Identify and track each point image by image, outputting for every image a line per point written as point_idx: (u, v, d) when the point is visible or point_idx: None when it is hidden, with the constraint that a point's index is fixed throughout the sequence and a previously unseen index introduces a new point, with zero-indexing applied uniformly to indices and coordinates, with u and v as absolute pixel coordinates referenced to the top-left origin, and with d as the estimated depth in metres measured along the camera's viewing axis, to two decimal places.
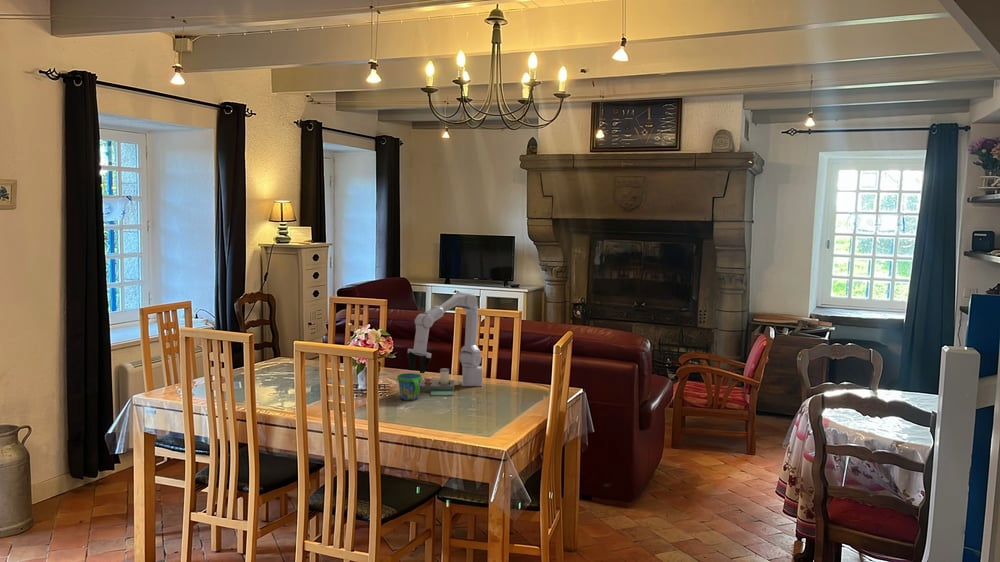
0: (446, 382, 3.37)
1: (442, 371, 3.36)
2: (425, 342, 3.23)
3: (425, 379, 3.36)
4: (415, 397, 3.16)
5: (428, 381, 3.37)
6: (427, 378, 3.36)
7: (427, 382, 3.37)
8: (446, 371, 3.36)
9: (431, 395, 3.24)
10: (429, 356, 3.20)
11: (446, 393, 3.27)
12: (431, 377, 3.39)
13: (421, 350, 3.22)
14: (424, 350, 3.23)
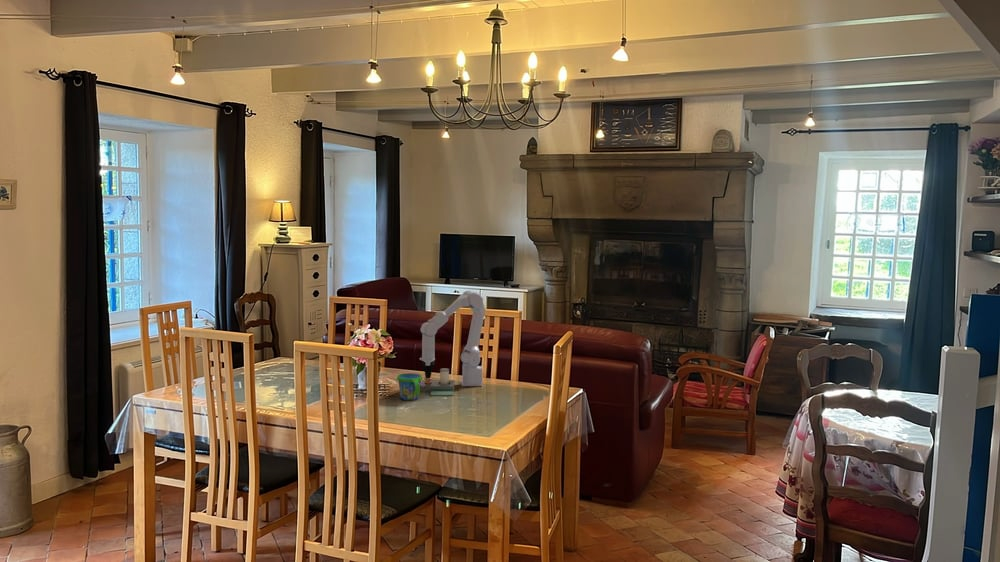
0: (446, 382, 3.37)
1: (442, 371, 3.36)
2: (428, 350, 3.34)
3: (425, 379, 3.36)
4: (415, 397, 3.16)
5: (428, 381, 3.37)
6: (427, 378, 3.36)
7: (427, 382, 3.37)
8: (446, 371, 3.36)
9: (431, 395, 3.24)
10: (427, 364, 3.30)
11: (446, 393, 3.27)
12: (431, 377, 3.39)
13: (425, 358, 3.34)
14: (429, 358, 3.34)
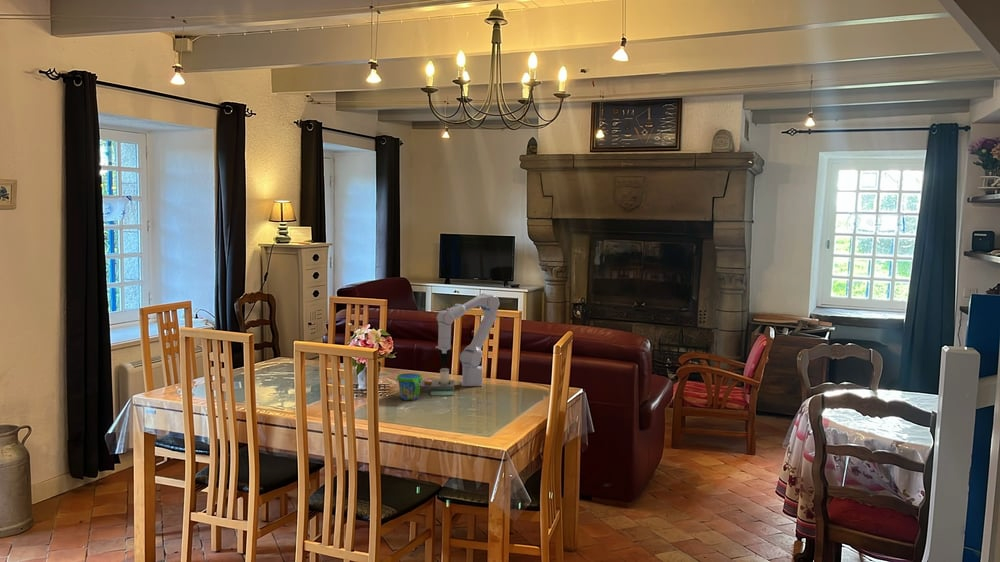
0: (446, 382, 3.37)
1: (442, 371, 3.36)
2: (445, 338, 3.34)
3: (425, 382, 3.37)
4: (415, 397, 3.16)
5: None
6: (427, 381, 3.37)
7: None
8: (446, 371, 3.36)
9: (431, 395, 3.24)
10: (444, 352, 3.30)
11: (446, 393, 3.27)
12: (431, 380, 3.39)
13: (441, 346, 3.34)
14: (445, 346, 3.34)
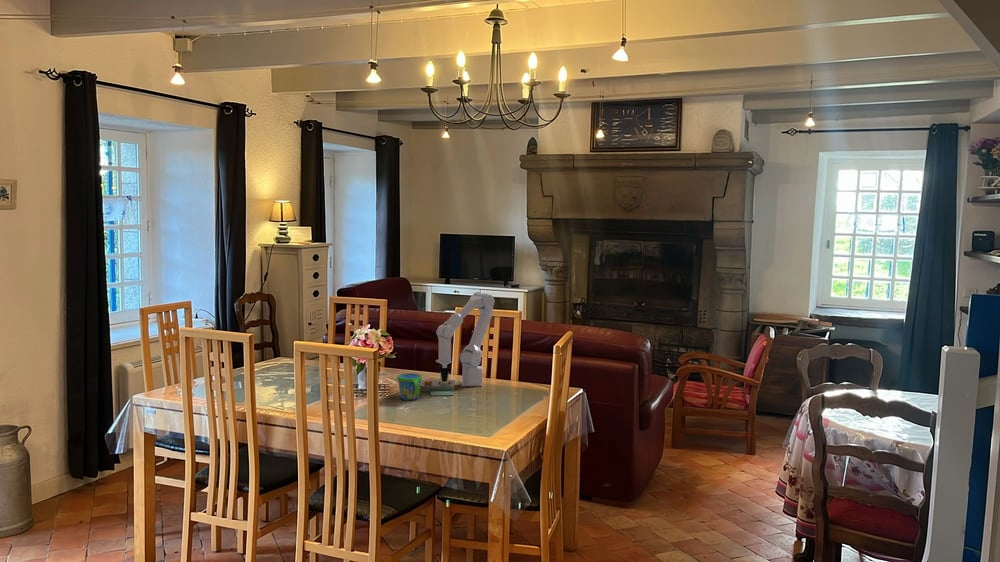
0: (446, 382, 3.37)
1: None
2: (445, 352, 3.34)
3: (425, 382, 3.37)
4: (415, 397, 3.16)
5: None
6: (427, 381, 3.37)
7: None
8: None
9: (431, 395, 3.24)
10: (444, 366, 3.31)
11: (446, 393, 3.27)
12: (431, 380, 3.39)
13: (442, 360, 3.35)
14: (445, 360, 3.35)
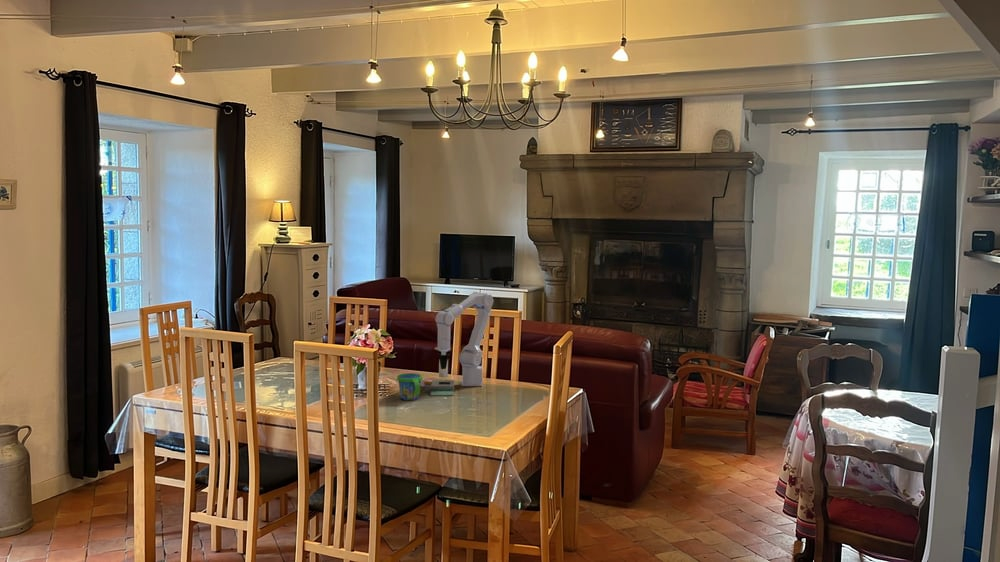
0: (445, 370, 3.32)
1: None
2: (444, 339, 3.30)
3: (425, 382, 3.37)
4: (415, 397, 3.16)
5: None
6: (427, 381, 3.37)
7: None
8: None
9: (431, 395, 3.24)
10: (443, 353, 3.26)
11: (446, 393, 3.27)
12: (431, 380, 3.39)
13: (441, 347, 3.30)
14: (444, 347, 3.30)
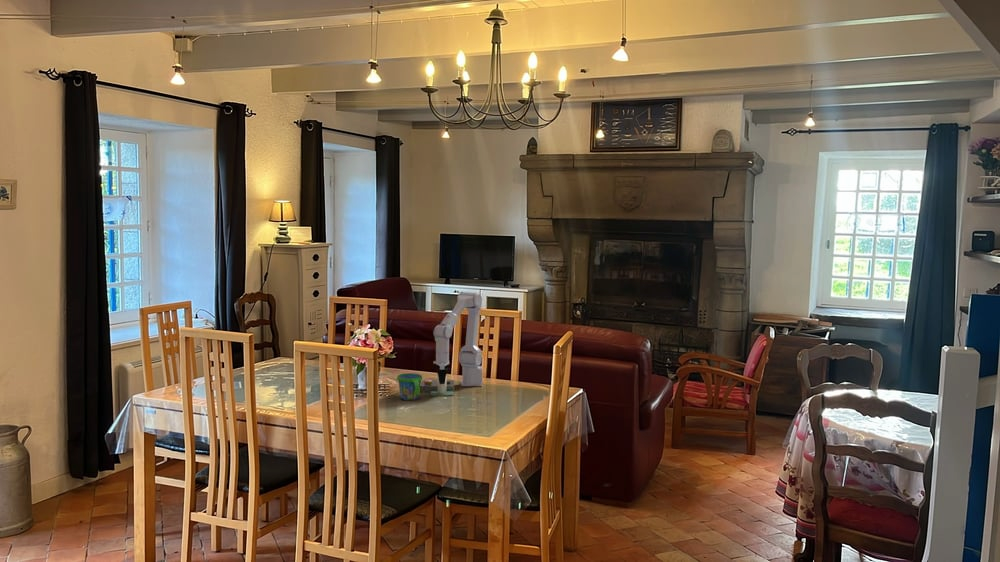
0: (444, 386, 3.26)
1: None
2: (443, 353, 3.23)
3: (425, 382, 3.37)
4: (415, 397, 3.16)
5: None
6: (427, 381, 3.37)
7: None
8: None
9: (431, 395, 3.24)
10: (442, 368, 3.19)
11: (446, 393, 3.27)
12: (431, 380, 3.39)
13: (439, 361, 3.24)
14: (443, 361, 3.24)
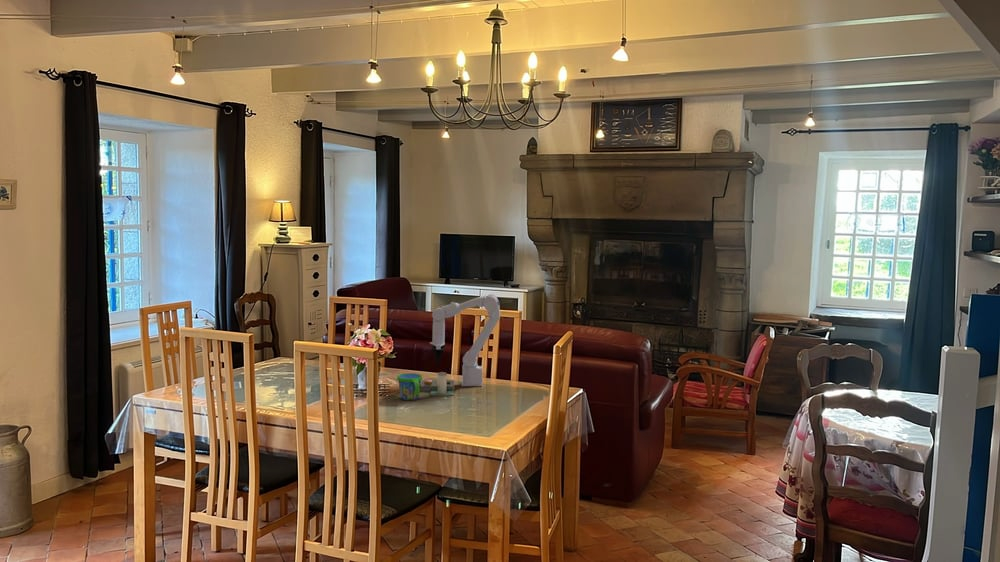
0: (444, 386, 3.26)
1: (439, 375, 3.25)
2: (439, 334, 3.44)
3: (425, 382, 3.37)
4: (415, 397, 3.16)
5: None
6: (427, 381, 3.37)
7: None
8: (444, 375, 3.25)
9: (431, 395, 3.24)
10: (438, 348, 3.40)
11: (446, 393, 3.27)
12: (431, 380, 3.39)
13: (436, 342, 3.44)
14: (439, 342, 3.44)
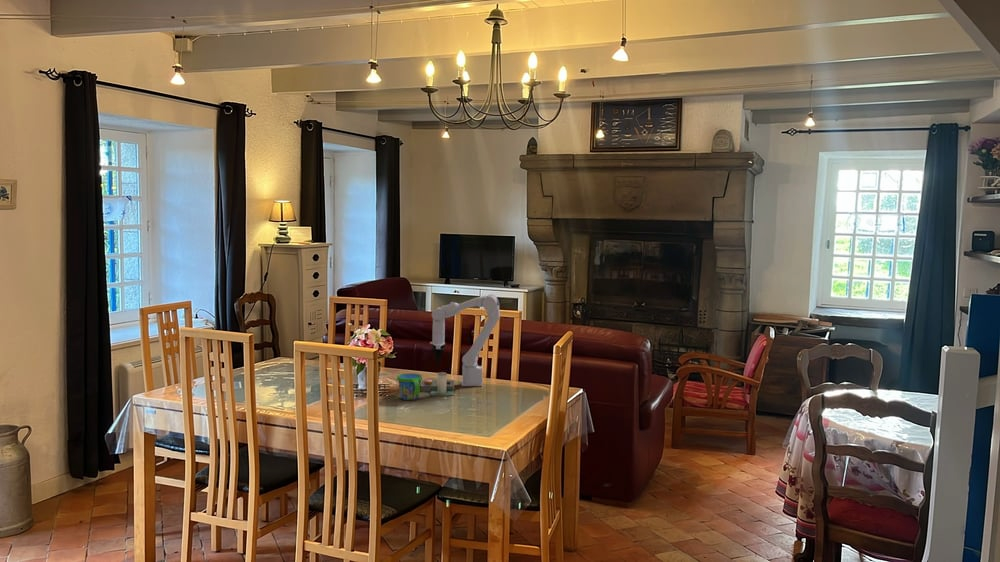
0: (444, 386, 3.26)
1: (439, 375, 3.25)
2: (439, 334, 3.45)
3: (425, 382, 3.37)
4: (415, 397, 3.16)
5: None
6: (427, 381, 3.37)
7: None
8: (444, 375, 3.25)
9: (431, 395, 3.24)
10: (438, 347, 3.41)
11: (446, 393, 3.27)
12: (431, 380, 3.39)
13: (435, 342, 3.45)
14: (439, 341, 3.45)
